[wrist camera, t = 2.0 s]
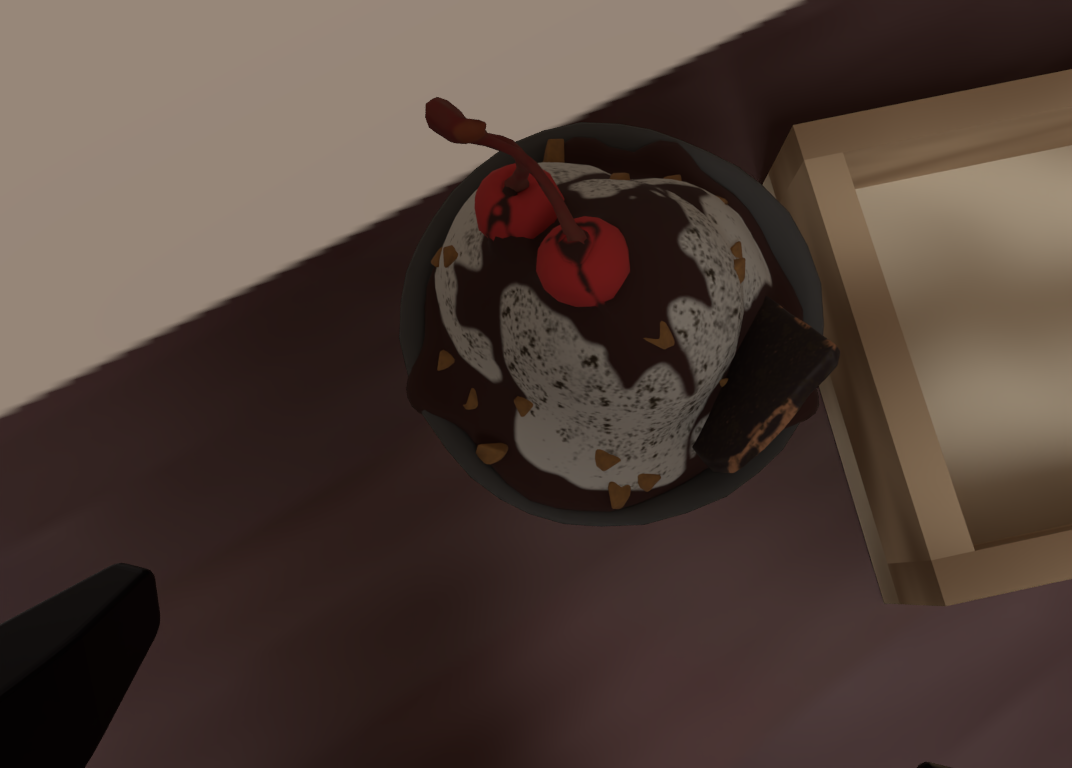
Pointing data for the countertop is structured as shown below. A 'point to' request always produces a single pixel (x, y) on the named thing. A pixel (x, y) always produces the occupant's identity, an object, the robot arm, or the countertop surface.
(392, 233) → the countertop surface
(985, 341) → the cream square tray
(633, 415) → the sundae
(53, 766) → the robot arm
